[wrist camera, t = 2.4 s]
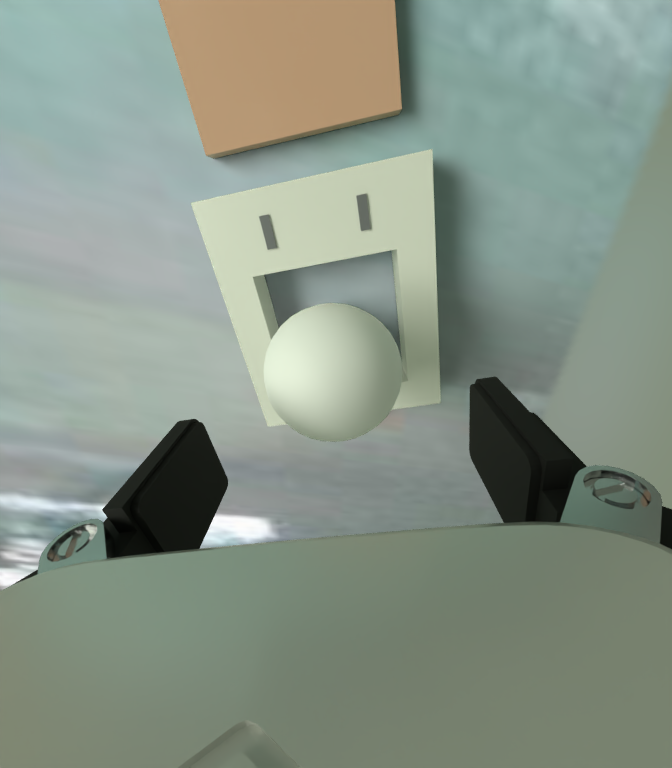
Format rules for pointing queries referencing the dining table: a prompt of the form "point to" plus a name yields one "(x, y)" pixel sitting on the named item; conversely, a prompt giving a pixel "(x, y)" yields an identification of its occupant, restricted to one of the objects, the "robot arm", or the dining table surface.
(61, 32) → the dining table surface
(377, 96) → the tile
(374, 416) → the lightbulb
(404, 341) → the slotted square frame
